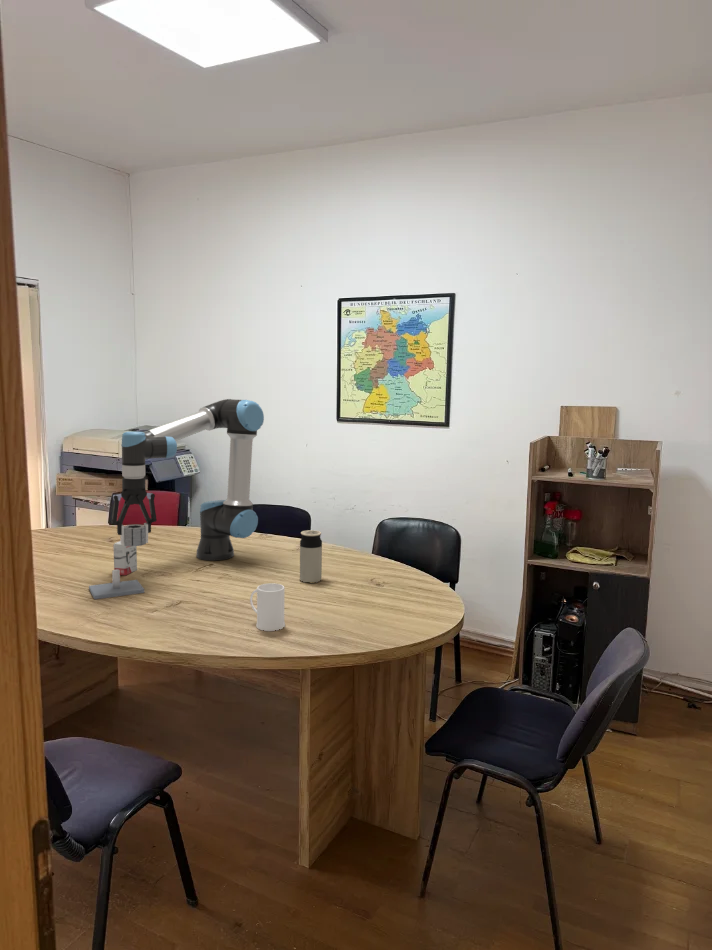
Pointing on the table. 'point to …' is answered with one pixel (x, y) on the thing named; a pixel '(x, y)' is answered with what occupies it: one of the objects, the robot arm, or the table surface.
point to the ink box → (125, 558)
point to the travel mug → (310, 556)
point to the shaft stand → (116, 587)
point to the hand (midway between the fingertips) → (134, 542)
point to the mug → (269, 606)
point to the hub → (134, 535)
